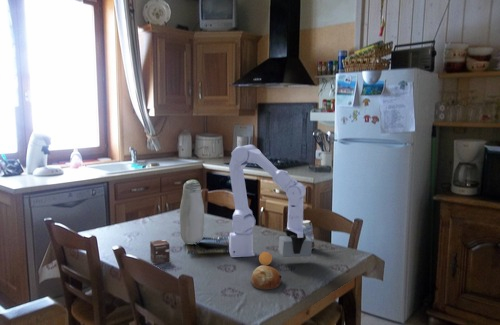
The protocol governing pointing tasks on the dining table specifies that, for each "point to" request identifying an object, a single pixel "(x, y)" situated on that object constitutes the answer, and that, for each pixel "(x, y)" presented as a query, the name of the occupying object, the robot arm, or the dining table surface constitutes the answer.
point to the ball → (265, 258)
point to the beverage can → (308, 231)
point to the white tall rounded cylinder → (192, 213)
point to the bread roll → (265, 277)
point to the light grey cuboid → (287, 247)
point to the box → (159, 251)
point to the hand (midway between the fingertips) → (294, 250)
